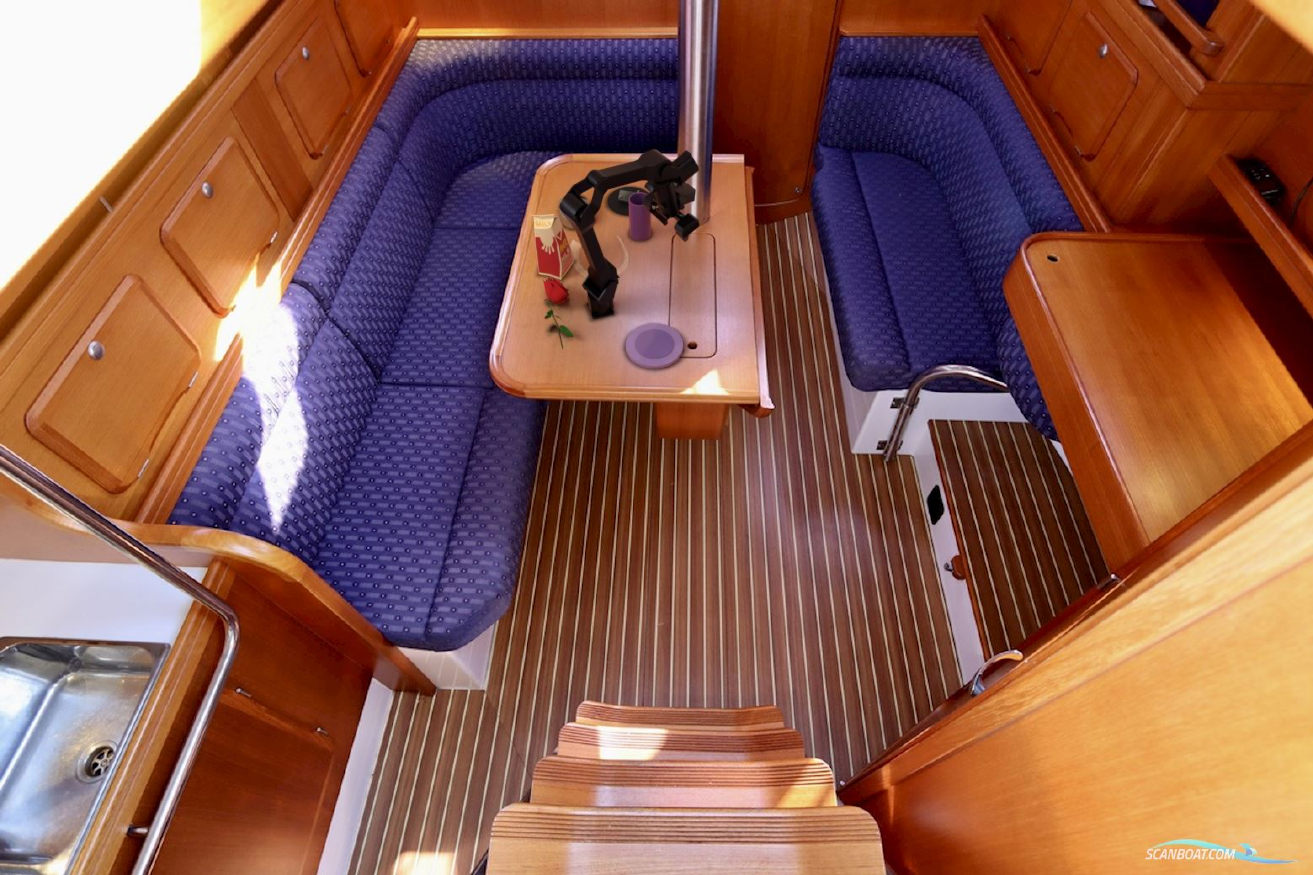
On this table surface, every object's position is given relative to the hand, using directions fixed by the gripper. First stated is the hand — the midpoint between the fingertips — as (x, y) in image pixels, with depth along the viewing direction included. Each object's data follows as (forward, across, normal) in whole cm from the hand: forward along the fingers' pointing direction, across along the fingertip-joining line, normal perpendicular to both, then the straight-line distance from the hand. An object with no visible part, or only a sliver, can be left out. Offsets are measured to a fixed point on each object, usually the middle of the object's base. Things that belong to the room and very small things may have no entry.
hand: (676, 232), depth 188 cm
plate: (+6, -21, +27) cm, 35 cm away
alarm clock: (+11, +40, +13) cm, 43 cm away
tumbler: (+14, +20, +2) cm, 24 cm away
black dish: (+16, +35, -5) cm, 39 cm away
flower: (+2, +3, +42) cm, 42 cm away
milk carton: (+5, +23, +31) cm, 40 cm away
